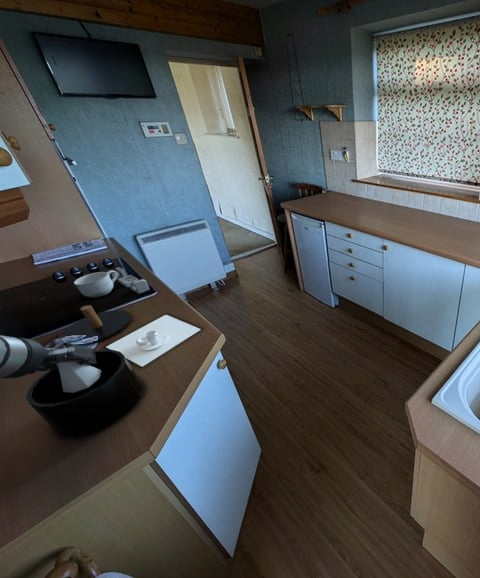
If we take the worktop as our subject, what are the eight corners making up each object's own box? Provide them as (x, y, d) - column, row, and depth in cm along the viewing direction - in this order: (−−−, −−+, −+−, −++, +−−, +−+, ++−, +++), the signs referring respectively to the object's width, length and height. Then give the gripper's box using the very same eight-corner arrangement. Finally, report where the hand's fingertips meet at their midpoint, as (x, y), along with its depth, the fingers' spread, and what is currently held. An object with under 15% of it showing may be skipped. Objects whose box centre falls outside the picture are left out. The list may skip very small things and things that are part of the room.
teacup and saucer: (133, 345, 98) (128, 336, 95) (158, 332, 104) (153, 323, 102) (149, 354, 94) (144, 344, 92) (173, 339, 101) (169, 330, 98)
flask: (91, 390, 71) (64, 361, 66) (57, 396, 70) (27, 367, 64) (108, 368, 77) (85, 340, 72) (77, 373, 76) (51, 345, 70)
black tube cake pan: (34, 438, 70) (2, 408, 64) (93, 379, 86) (71, 350, 80) (112, 435, 71) (88, 405, 65) (157, 377, 87) (140, 348, 81)
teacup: (89, 303, 118) (78, 286, 114) (79, 295, 123) (69, 278, 119) (129, 288, 128) (121, 272, 124) (119, 281, 133) (110, 266, 129)
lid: (46, 347, 96) (29, 325, 92) (92, 313, 113) (79, 293, 108) (107, 345, 98) (93, 324, 93) (143, 312, 114) (133, 292, 109)
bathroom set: (151, 288, 128) (146, 278, 125) (139, 293, 125) (133, 283, 122) (124, 274, 139) (118, 264, 136) (112, 278, 135) (106, 268, 132)
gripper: (61, 324, 57) (121, 338, 79) (-69, 351, 51) (35, 357, 72) (66, 362, 56) (125, 365, 77) (-67, 394, 49) (38, 387, 71)
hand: (81, 361), depth 75 cm, fingers closed on flask, 4 cm apart
